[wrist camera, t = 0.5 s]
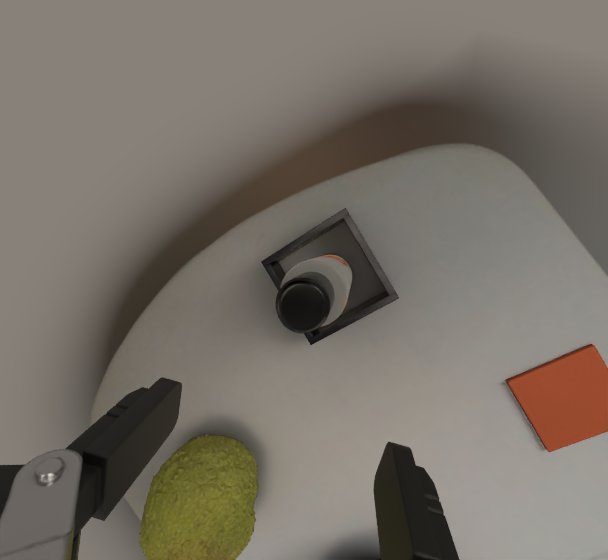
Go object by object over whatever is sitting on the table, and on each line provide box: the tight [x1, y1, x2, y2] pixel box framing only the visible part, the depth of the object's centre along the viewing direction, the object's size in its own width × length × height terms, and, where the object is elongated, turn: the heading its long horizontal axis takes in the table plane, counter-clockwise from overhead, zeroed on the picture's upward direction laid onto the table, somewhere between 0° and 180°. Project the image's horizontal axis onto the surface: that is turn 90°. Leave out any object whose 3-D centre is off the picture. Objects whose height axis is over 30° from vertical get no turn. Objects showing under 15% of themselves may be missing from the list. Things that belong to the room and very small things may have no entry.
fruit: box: [140, 434, 258, 560], centre depth 39 cm, size 16×14×15 cm
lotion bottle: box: [276, 255, 352, 333], centre depth 29 cm, size 6×6×20 cm
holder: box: [261, 208, 399, 345], centre depth 37 cm, size 12×12×4 cm
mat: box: [506, 344, 608, 452], centre depth 35 cm, size 10×10×1 cm
